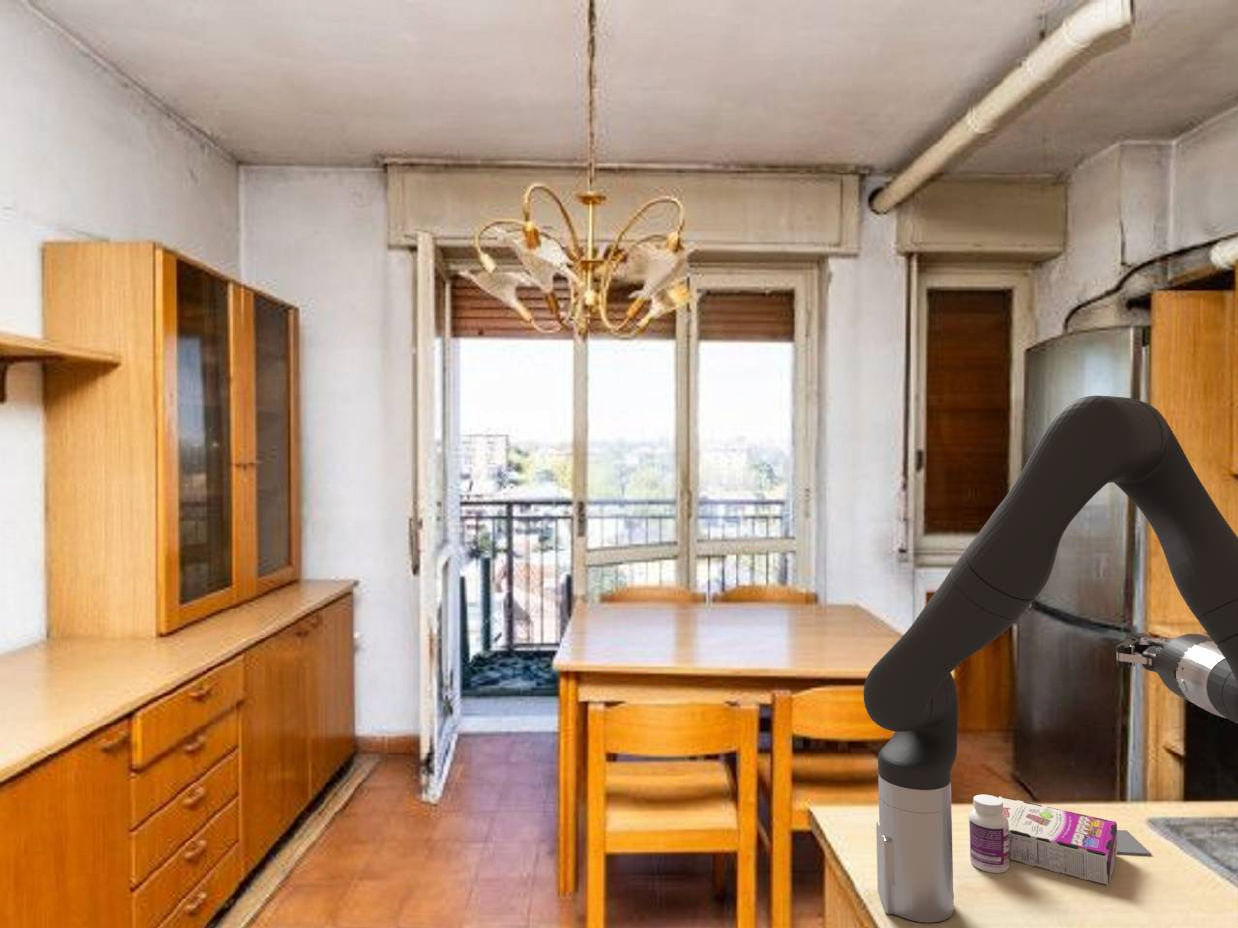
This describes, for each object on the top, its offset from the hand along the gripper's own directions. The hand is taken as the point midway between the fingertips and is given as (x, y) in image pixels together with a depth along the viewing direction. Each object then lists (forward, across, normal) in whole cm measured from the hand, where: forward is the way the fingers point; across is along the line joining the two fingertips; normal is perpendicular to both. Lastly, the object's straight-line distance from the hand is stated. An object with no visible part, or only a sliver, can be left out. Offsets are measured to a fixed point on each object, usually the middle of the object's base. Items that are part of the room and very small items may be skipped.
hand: (1135, 640), depth 101 cm
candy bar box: (+12, -2, +34) cm, 36 cm away
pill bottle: (+12, +15, +36) cm, 41 cm away
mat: (+21, -4, +36) cm, 42 cm away
